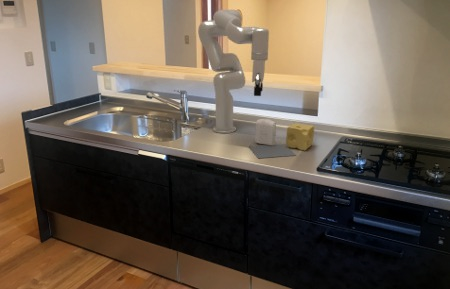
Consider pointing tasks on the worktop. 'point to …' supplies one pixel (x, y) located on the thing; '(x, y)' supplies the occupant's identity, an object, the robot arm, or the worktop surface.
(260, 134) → the photo printer
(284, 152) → the mat
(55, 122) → the worktop surface
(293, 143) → the cheese
